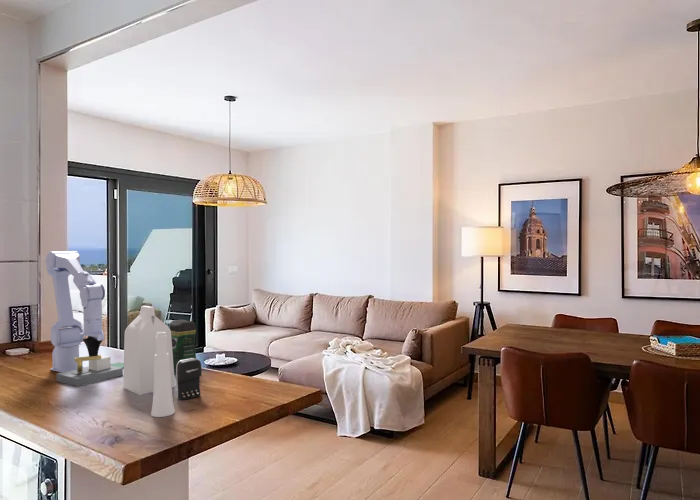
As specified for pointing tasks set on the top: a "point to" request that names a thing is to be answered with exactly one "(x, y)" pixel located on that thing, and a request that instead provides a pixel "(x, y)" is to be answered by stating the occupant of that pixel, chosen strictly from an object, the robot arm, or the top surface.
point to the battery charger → (188, 378)
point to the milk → (144, 351)
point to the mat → (118, 365)
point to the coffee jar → (182, 340)
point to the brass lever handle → (80, 359)
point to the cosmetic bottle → (162, 380)
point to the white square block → (100, 363)
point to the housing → (88, 375)
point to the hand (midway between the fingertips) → (93, 358)
